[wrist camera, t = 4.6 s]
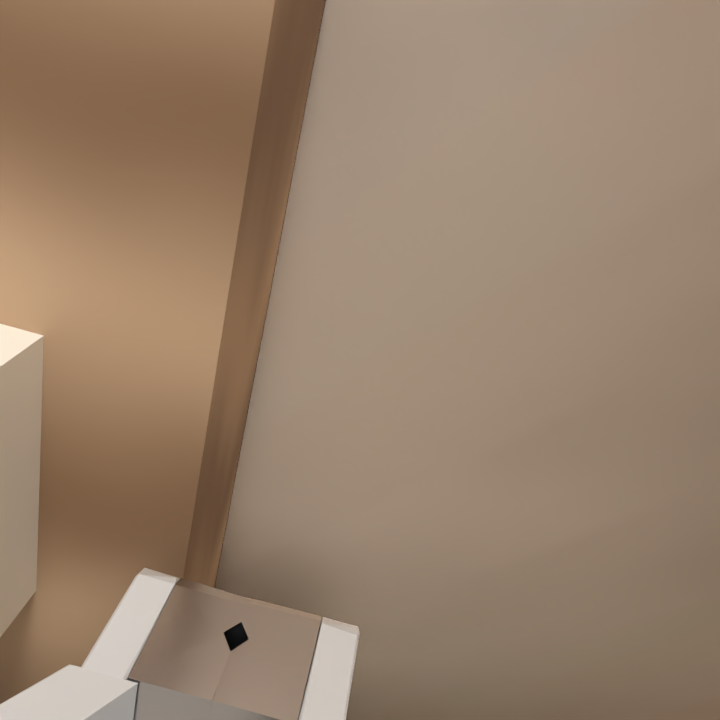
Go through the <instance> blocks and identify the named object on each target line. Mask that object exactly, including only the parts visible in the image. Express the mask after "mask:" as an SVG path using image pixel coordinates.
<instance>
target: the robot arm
mask: <svg viewBox="0 0 720 720" xmlns="http://www.w3.org/2000/svg"><path fill="white" fill-rule="evenodd" d="M359 634H360V633H359V628H358V626H355V625H352V624H348V623H344V622H340V621H337V620H333V619H329V618H325V617H323V618H322V619H321V616H319V615H315V614H311V613H307V612H303V611H299V610H296V609H292V608H288V607H284V606H280V605H276V604H272V603H269V602H265V601H261V600H257V599H253V598H251V599H250V598H246V597H243V596H240V595H236V594H233V593H230V592H226V591H223V590H220V589H216V588H213V587H210V586H207V585H203V584H200V583H197V582H193V581H190V580H187V579H183V578H178V577H174V576H171V575H168V574H164V573H161V572H158V571H154V570H151V569H148V568H144V569H143V570H142V571H140V572H139V573H138V574H137V575H136V576H135V578H134V580H133V581H132V583H131V585H130V586H129V588H128V590H127V591H126V593H125V595H124V596H123V598H122V600H121V601H120V603H119V605H118V606H117V608H116V610H115V611H114V613H113V615H112V616H111V618H110V620H109V621H108V623H107V625H106V626H105V628H104V630H103V631H102V633H101V635H100V636H99V638H98V640H97V641H96V643H95V645H94V646H93V648H92V650H91V651H90V653H89V655H88V656H87V658H86V660H85V661H84V663H83V665H82V666H81V667H79V666H75V665H71V664H69V665H67V666H65V667H64V668H62V669H60V670H59V671H57V672H55V673H53V674H52V675H50V676H48V677H46V678H45V679H43V680H41V681H39V682H38V683H36V684H34V685H32V686H31V687H29V688H27V689H26V690H24V691H22V692H20V693H19V694H17V695H15V696H13V697H12V698H10V699H8V700H6V701H5V702H3V703H1V704H0V720H346V715H347V709H348V703H349V696H350V690H351V684H352V678H353V671H354V665H355V659H356V653H357V646H358V640H359Z"/></svg>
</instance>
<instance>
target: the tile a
mask: <svg viewBox="0 0 720 720" xmlns="http://www.w3.org/2000/svg"><path fill="white" fill-rule="evenodd" d="M43 344H44V336H43V335H40V334H36V333H33V332H29V331H25V330H22V329H18V328H14V327H11V326H7V325H3V324H0V637H1V636H2V635H3V633H4V632H5V631H6V629H7V628H8V627H9V625H10V624H11V623H12V622H13V620H14V619H15V618H16V616H17V615H18V614H19V612H20V611H21V610H22V608H23V607H24V606H25V605H26V603H27V602H28V601H29V599H30V598H31V597H32V595H33V594H34V593H35V591H36V585H37V551H38V516H39V482H40V447H41V413H42V379H43Z"/></svg>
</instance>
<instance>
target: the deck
mask: <svg viewBox="0 0 720 720" xmlns="http://www.w3.org/2000/svg"><path fill="white" fill-rule="evenodd" d="M324 5H325V0H0V324H3V325H7V326H11V327H14V328H18V329H22V330H25V331H29V332H33V333H36V334H40V335H43V336H44V344H43V379H42V413H41V447H40V482H39V516H38V551H37V585H36V591H35V593H34V594H33V595H32V597H31V598H30V599H29V601H28V602H27V603H26V605H25V606H24V607H23V608H22V610H21V611H20V612H19V614H18V615H17V616H16V618H15V619H14V620H13V622H12V623H11V624H10V625H9V627H8V628H7V629H6V631H5V632H4V633H3V635H2V636H1V637H0V704H1V703H3V702H5V701H6V700H8V699H10V698H12V697H13V696H15V695H17V694H19V693H20V692H22V691H24V690H26V689H27V688H29V687H31V686H32V685H34V684H36V683H38V682H39V681H41V680H43V679H45V678H46V677H48V676H50V675H52V674H53V673H55V672H57V671H59V670H60V669H62V668H64V667H65V666H67V665H69V664H71V665H75V666H79V667H81V666H82V665H83V663H84V661H85V660H86V658H87V656H88V655H89V653H90V651H91V650H92V648H93V646H94V645H95V643H96V641H97V640H98V638H99V636H100V635H101V633H102V631H103V630H104V628H105V626H106V625H107V623H108V621H109V620H110V618H111V616H112V615H113V613H114V611H115V610H116V608H117V606H118V605H119V603H120V601H121V600H122V598H123V596H124V595H125V593H126V591H127V590H128V588H129V586H130V585H131V583H132V581H133V580H134V578H135V576H136V575H137V574H138V573H139V572H140V571H142V570H143V569H144V568H148V569H151V570H154V571H158V572H161V573H164V574H168V575H171V576H174V577H178V578H183V579H187V580H190V581H193V582H197V583H200V584H203V585H207V586H210V587H213V588H214V587H215V582H216V576H217V571H218V566H219V561H220V555H221V550H222V545H223V539H224V534H225V529H226V523H227V518H228V513H229V508H230V502H231V497H232V492H233V486H234V481H235V476H236V471H237V465H238V460H239V455H240V449H241V444H242V439H243V433H244V428H245V423H246V418H247V412H248V407H249V402H250V396H251V391H252V386H253V381H254V375H255V370H256V365H257V359H258V354H259V349H260V343H261V338H262V333H263V328H264V322H265V317H266V312H267V306H268V301H269V296H270V291H271V285H272V280H273V275H274V269H275V264H276V259H277V253H278V248H279V243H280V238H281V232H282V227H283V222H284V216H285V211H286V206H287V201H288V195H289V190H290V185H291V179H292V174H293V169H294V163H295V158H296V153H297V148H298V142H299V137H300V132H301V126H302V121H303V116H304V111H305V105H306V100H307V95H308V89H309V84H310V79H311V73H312V68H313V63H314V58H315V52H316V47H317V42H318V36H319V31H320V26H321V21H322V15H323V10H324Z"/></svg>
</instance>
